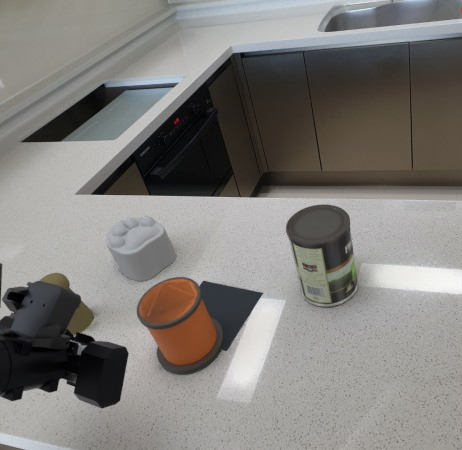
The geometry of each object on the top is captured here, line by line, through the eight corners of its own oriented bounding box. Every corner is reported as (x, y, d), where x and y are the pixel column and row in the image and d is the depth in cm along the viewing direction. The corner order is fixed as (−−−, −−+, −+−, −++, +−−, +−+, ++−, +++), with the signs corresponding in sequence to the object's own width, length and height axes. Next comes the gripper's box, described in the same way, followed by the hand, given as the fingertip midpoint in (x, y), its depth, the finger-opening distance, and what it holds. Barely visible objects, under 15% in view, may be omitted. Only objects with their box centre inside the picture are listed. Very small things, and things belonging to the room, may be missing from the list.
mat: (226, 350, 74) (226, 350, 74) (162, 333, 79) (162, 333, 79) (262, 293, 83) (262, 292, 82) (203, 281, 88) (203, 280, 88)
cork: (63, 315, 87) (33, 273, 80) (95, 305, 87) (68, 263, 81) (57, 339, 82) (25, 296, 75) (91, 329, 83) (62, 286, 76)
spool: (179, 387, 70) (152, 342, 63) (147, 348, 77) (120, 304, 70) (237, 342, 74) (218, 296, 68) (202, 309, 82) (181, 264, 75)
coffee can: (355, 262, 85) (347, 200, 76) (360, 304, 77) (352, 239, 68) (300, 269, 86) (286, 208, 77) (300, 310, 78) (284, 247, 69)
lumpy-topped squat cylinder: (141, 286, 90) (123, 252, 85) (108, 263, 98) (90, 231, 92) (182, 255, 95) (168, 222, 90) (148, 235, 103) (133, 204, 98)
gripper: (73, 304, 42) (180, 300, 57) (-48, 272, 50) (73, 275, 64) (50, 427, 42) (164, 391, 56) (-69, 375, 49) (58, 356, 63)
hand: (112, 349), depth 60 cm, fingers closed
